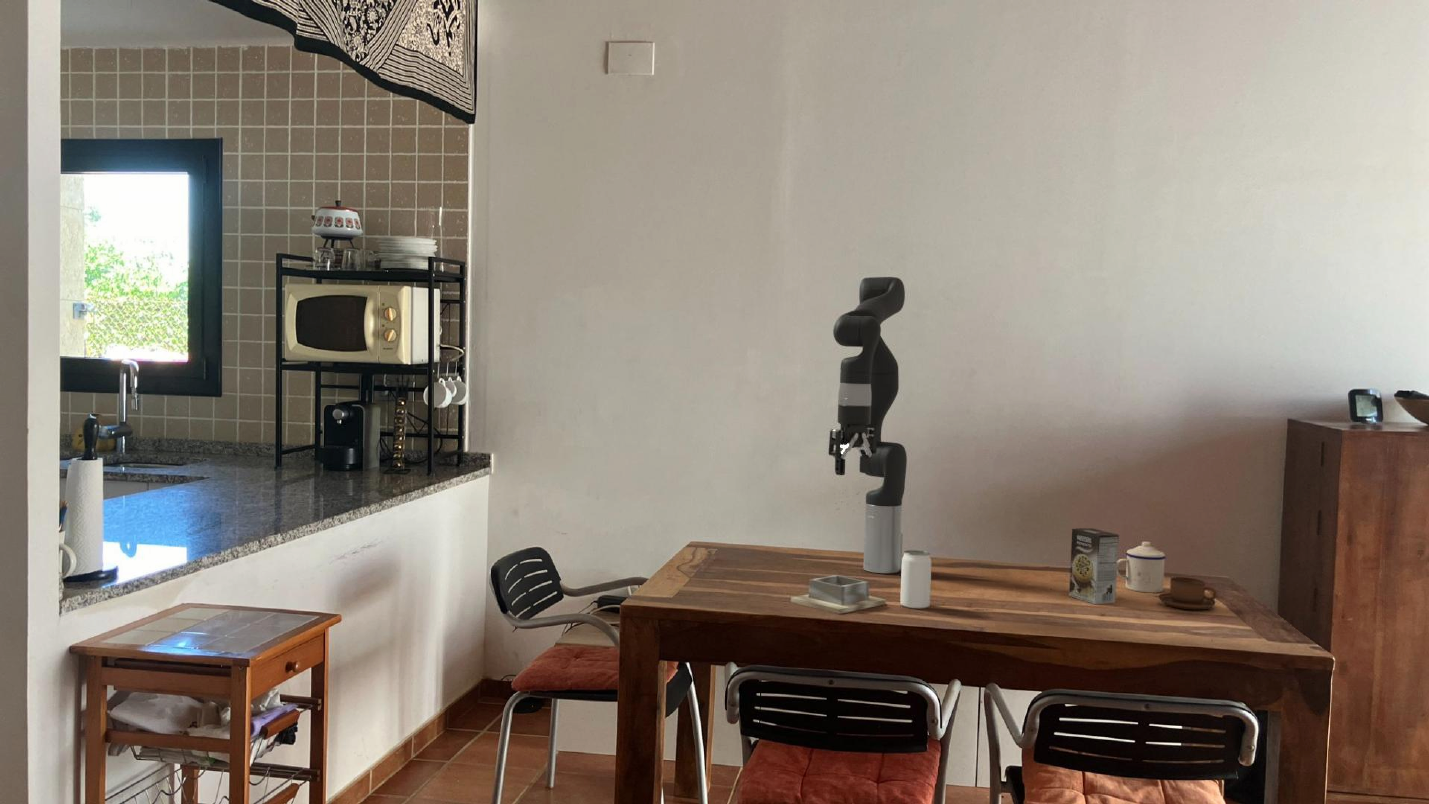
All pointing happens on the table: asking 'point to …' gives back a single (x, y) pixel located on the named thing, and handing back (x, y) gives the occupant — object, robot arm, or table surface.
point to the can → (915, 579)
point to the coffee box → (1093, 565)
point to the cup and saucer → (1188, 594)
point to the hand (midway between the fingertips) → (852, 473)
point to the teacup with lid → (1144, 569)
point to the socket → (838, 595)
